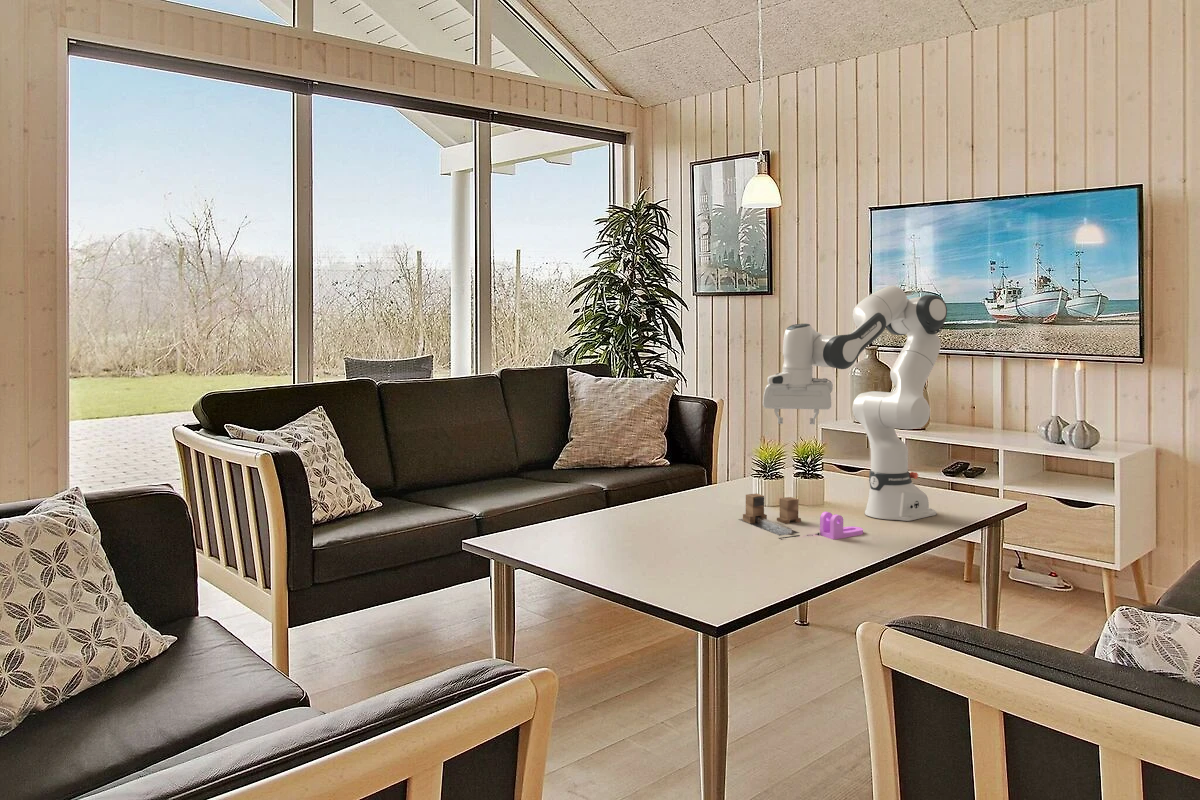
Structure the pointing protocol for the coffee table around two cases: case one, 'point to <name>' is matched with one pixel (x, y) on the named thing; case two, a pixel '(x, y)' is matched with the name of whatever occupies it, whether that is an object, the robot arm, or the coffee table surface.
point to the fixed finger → (754, 507)
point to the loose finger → (788, 510)
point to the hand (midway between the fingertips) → (796, 423)
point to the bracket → (836, 527)
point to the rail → (772, 527)
